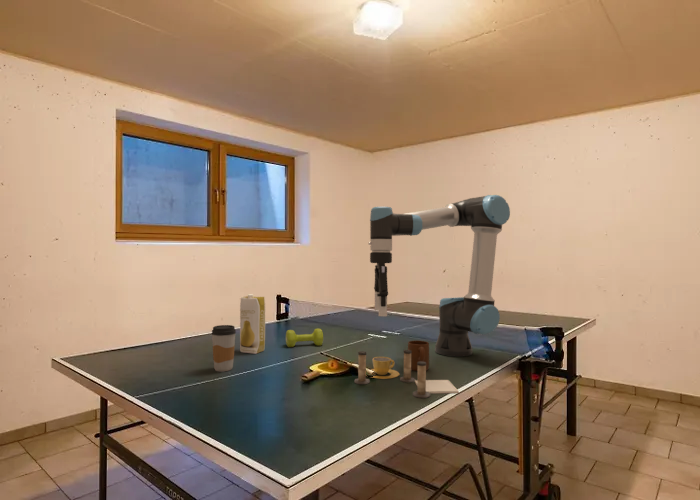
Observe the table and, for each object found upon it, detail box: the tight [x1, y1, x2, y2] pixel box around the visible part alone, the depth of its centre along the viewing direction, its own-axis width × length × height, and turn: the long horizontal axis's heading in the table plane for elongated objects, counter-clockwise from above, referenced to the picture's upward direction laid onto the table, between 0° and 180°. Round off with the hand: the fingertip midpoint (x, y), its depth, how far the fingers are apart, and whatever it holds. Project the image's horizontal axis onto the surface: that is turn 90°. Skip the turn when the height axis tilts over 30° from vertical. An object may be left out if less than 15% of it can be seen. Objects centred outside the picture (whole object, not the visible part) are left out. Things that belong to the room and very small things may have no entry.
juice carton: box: [239, 293, 266, 355], centre depth 178 cm, size 9×8×24 cm
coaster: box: [414, 379, 459, 394], centre depth 133 cm, size 11×11×1 cm
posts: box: [354, 349, 431, 399], centre depth 132 cm, size 22×20×10 cm
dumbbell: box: [285, 328, 324, 348], centre depth 190 cm, size 16×8×7 cm, turn 106°
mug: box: [407, 340, 430, 372], centre depth 152 cm, size 12×8×9 cm, turn 2°
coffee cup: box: [211, 324, 237, 373], centre depth 151 cm, size 8×8×15 cm
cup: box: [370, 356, 401, 380], centre depth 147 cm, size 12×12×5 cm
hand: (380, 313), depth 148 cm, fingers open, 13 cm apart
